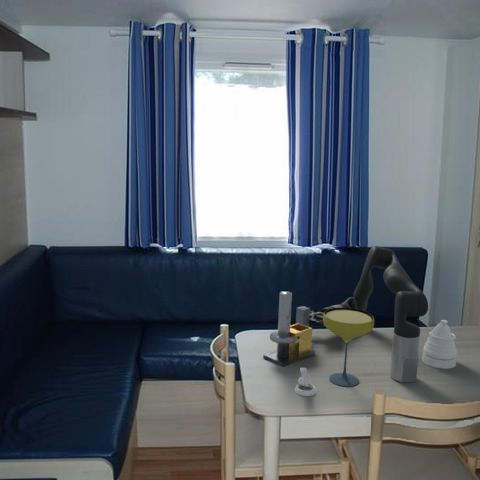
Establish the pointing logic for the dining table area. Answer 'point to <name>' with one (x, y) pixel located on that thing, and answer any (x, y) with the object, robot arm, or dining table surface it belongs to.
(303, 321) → the grey square peg
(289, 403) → the dining table surface
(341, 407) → the dining table surface
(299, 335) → the flanged pole stand
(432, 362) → the honey pot
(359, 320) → the cocktail glass
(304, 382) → the white vr controller
